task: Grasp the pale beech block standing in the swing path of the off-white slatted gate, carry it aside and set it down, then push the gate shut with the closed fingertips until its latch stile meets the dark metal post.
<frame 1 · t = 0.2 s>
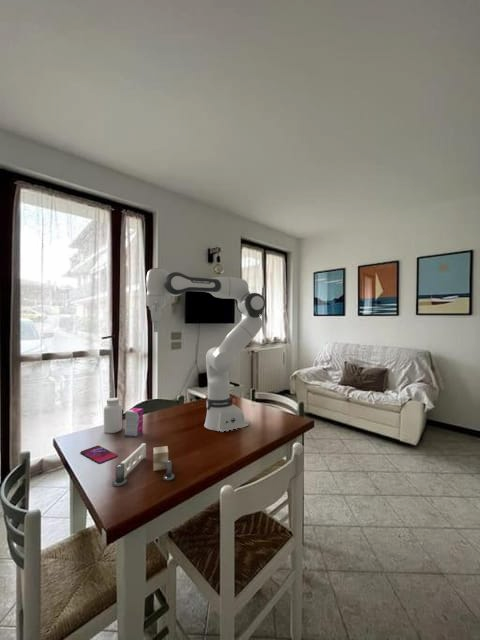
hand: (155, 331, 133), 48 cm above the table, fingers open, 8 cm apart
pill bottle: (112, 430, 135), on the table
smartphone: (98, 456, 110), on the table
supplement box: (134, 434, 130), on the table
hinge post: (119, 482, 91), on the table
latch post: (168, 477, 94), on the table
beech block: (160, 466, 102), on the table
gate: (134, 459, 101), point 3 cm above the table, hinge at 65.0°
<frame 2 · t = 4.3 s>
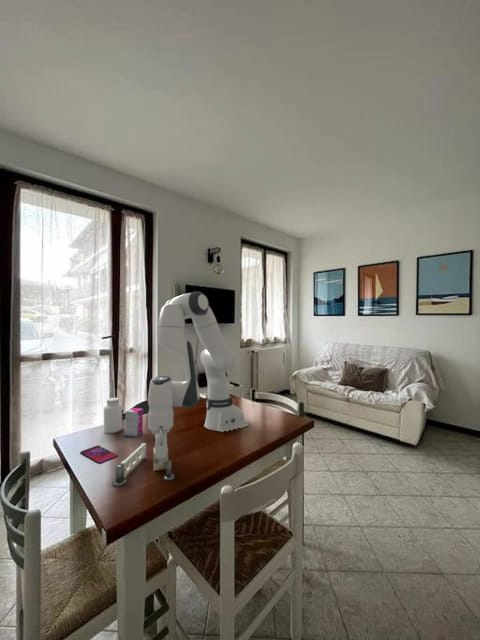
hand: (160, 460, 102), 2 cm above the table, fingers closed on beech block, 5 cm apart
beech block: (160, 466, 102), on the table, touching gripper
everything else where it was.
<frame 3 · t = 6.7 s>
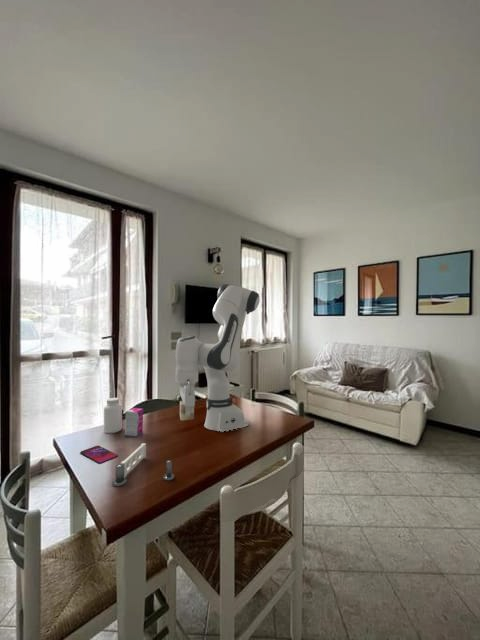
hand: (186, 412, 111), 17 cm above the table, fingers closed on beech block, 5 cm apart
beech block: (186, 417, 111), point 15 cm above the table, touching gripper
everything else where it was.
when the fingers open (3 cm above the table, at t = 9.1 s): beech block drops 1 cm, on the table.
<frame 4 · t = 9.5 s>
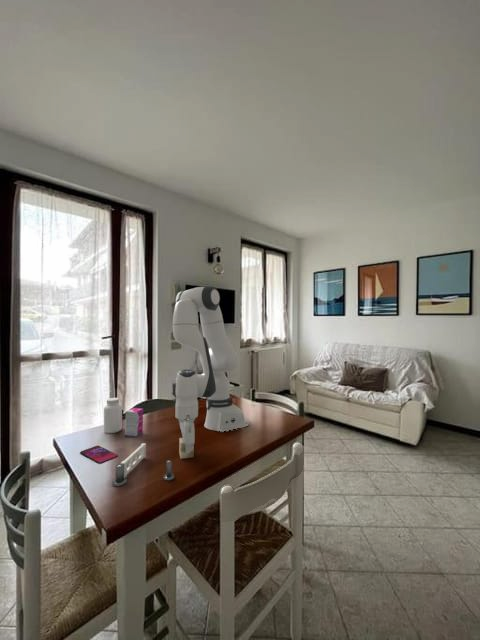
hand: (186, 446, 111), 3 cm above the table, fingers open, 8 cm apart
beech block: (186, 455, 111), on the table
everything else where it was.
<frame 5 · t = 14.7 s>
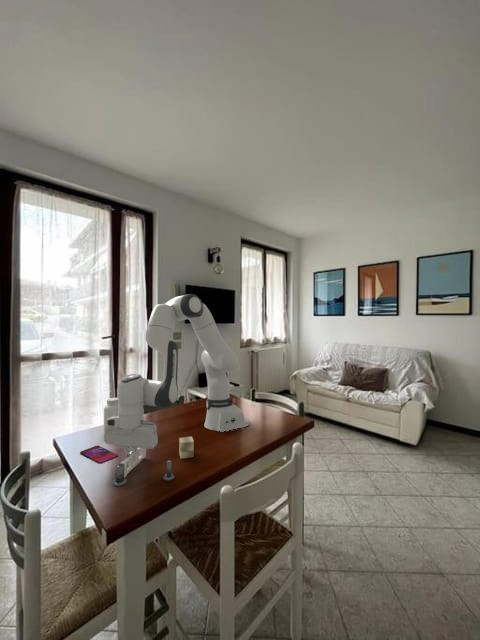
hand: (130, 457, 103), 3 cm above the table, fingers closed
gate: (134, 459, 101), point 3 cm above the table, hinge at 65.0°, touching gripper
everything else where it was.
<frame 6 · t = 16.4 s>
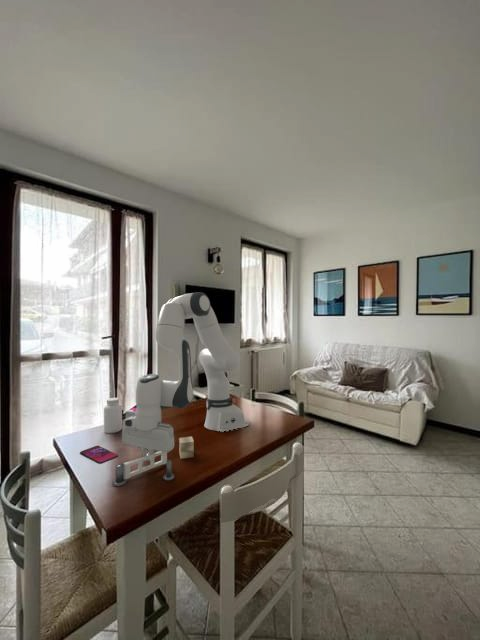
hand: (147, 459, 101), 3 cm above the table, fingers closed
gate: (146, 463, 98), point 3 cm above the table, hinge at 27.4°, touching gripper
everything else where it was.
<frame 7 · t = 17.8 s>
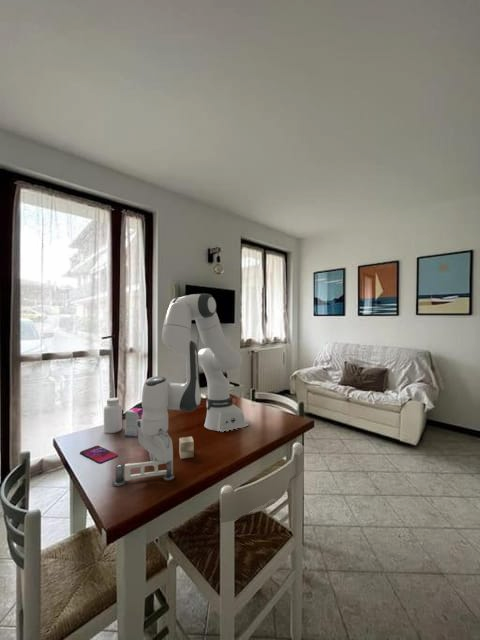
hand: (154, 465, 97), 3 cm above the table, fingers closed
gate: (149, 468, 94), point 3 cm above the table, hinge at -0.7°, touching gripper, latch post
everything else where it was.
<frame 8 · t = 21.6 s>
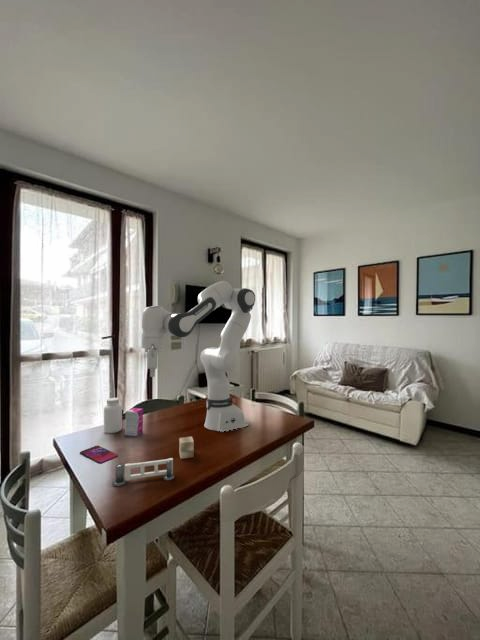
hand: (152, 376, 119), 29 cm above the table, fingers closed
gate: (149, 468, 94), point 3 cm above the table, hinge at -0.8°, touching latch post
everything else where it was.
at the end: gate at -1° (first picture: +65°); beech block inside the target area (0.1 cm from its centre), on the table; beech block tilted 0° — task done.
